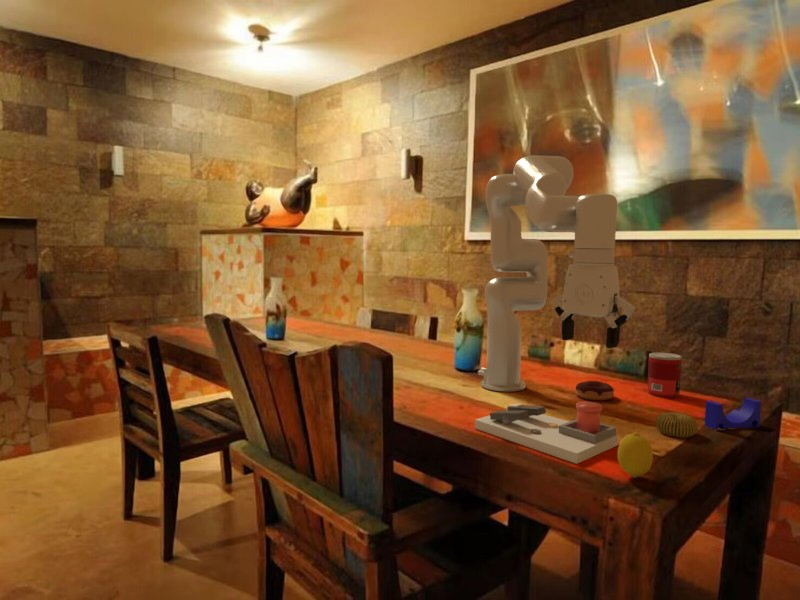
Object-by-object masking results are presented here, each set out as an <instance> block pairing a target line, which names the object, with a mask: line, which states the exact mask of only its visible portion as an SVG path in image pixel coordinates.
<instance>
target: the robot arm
mask: <svg viewBox="0 0 800 600" xmlns="http://www.w3.org/2000/svg"><path fill="white" fill-rule="evenodd" d="M512 172H513V173H504V174H503V173H502V174H497V175H494V176H492V177H491V178H490V179H489V180H488V182H487V184H486V188H485V203H486V204H485V205H486V209H487V213H488V217H489V223H490V264H491V267H492V269H493V270H494V271H496V272H500V273H526V276H524V277H523V276H520V277H519V276H500V277H495V278H491V280H488V282H487V283H486V284H485V287H484V299H485V303H486V304H485V306H486V319H487V327H486V328H487V329H486V331H487V333H486V334H487V336H486V337H487V340H486V342H487V344H486V367H480V369H479V370H478V371H477V374H478V375H479V376H483V379H482V380H481V381H480V386H481V387H482V388H484V389H487V390H489V391H496V392H508V393H509V392H518V391H523V390H525V388H526V382H525V381H523V380H521V361H522V360H521V359H522V357H521V356H522V355H521V354H522V353H521V351H522V350H521V349H522V326H521V322H520V320H519V319H518V318H517V316H516V315H515V314H514V312H515V311H516V312H517V311H537V310H540V309H543V308H544V306H545V305H546V302H547V297H548V273H549V271H548V270H549V269H548V268H549V266H548V265H549V261H548V260H549V258H548V257H549V256H548V251H547V248H546V245H545V244H544V242H542V241H541V240H540V239H537V238H536V239H535V238H523V237H522V221H521V218H520V216H519V215H518V213H517V212H516V210H515V209H514V208H513V207H525V211H526V212H525V213H526V215H527V217H528V219H529V221H531V222H532V224H533V225H534V226H535V227H537V229H539V230H541V231H542V232H546V233H547V232H548V233H574V240H573V241H574V245H573V247H574V248H573V251H569V252H568V258H569V259H572V263H573V264H572V263H571V264H568V269H567V272H566V276H565V280H564V286H563V287H564V288H563V293H561V294H558V295H556V296H554V297H553V298H551V302H552V304H553V307H554V308H555V309H554V310H555V312H556V314H557V315H558V316H559V320H560V321H562V322H561V335H562V337H561V339H562V340H563V341H569V340H572V339H574V336H575V319H573V317H574V316H576V315H578V316H585V317H586V316H587V317H594V318H604V319H605V321H606V322H607V324H608V325H609V327H607V328H606V342H605V343H606V344H605V346H606V348H607V349H613V348H617V347H618V344H620V334H621V327H623V325H625V324H626V323H627V322H629V320H630V319H631V317H632V315H633V313H634V312H635V310H636V307H635V306H634V305H633V304H631V303H630V302H628V301H627V300H626V299H624V298H623V297H621V296H620V279H619V272H618V266H617V265H615V264H614V263H615V248H616V233H617V231H616V229H617V217H618V216H617V214H618V200H617V197H616V196H615V195H613V194H609V193H589V194H582V195H580V196H578V195H566V193H567V190H568V189H569V187H570V186H571V185H572V182H573V180H574V173H575V172H574V167H573V164H572V163H571V161H570V160H569V159H568V158H567V157H564V156H560V155H539V154H538V155H535V154H533V155H527V156H524V157H521V158H520V159H519V160H518V161H517V162H516V163H515V164H514V167H513V171H512ZM620 308H621V309H622V310H623V311H622V313H621V315H620V316H619V315H618V313H619V310H620Z"/></svg>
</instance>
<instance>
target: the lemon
mask: <svg viewBox="0 0 800 600" xmlns="http://www.w3.org/2000/svg"><path fill="white" fill-rule="evenodd" d="M651 445H652V444H651V443H650V441H649V440H648V439H647V438H646V437H645V436H643V435H641V434H639V432H635V431H634V432H633V433H629V434H626V435H625V436H623V437H622V439H621V440H620V442H619V443H618V448H617V461H618V464H619V465H620V467H621V469H622V470H623V471H624V472H625V473H627V474H629V475H630V477H631V478H634V479H635V478H637V477H639V476H642V475H645V474H646V473H648V472H649V471H650V469H651V467H652V465H653V462H654V461H653V459H654V457H653V456H654V455H653V450H652V446H651Z"/></svg>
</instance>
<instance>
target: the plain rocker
mask: <svg viewBox="0 0 800 600" xmlns="http://www.w3.org/2000/svg"><path fill="white" fill-rule="evenodd" d="M489 415H490V418H491V420H502V422H503V423H504V424H508V423H511V422H514V421H516V420H522V419H525V418H528V417H529V415H528V411H506V410H496V411H493V412H490V413H489Z"/></svg>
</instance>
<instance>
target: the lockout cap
mask: <svg viewBox="0 0 800 600" xmlns="http://www.w3.org/2000/svg"><path fill="white" fill-rule="evenodd" d="M575 409H576V411H577V412H576V413H577V414H576V419H577V430H581V431H584V432H587V433H591V434H595V433H598V432H600V423H601V412H602V411H603V405H602V404H601V403H597V402H594V401H578V402H576V403H575Z"/></svg>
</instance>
